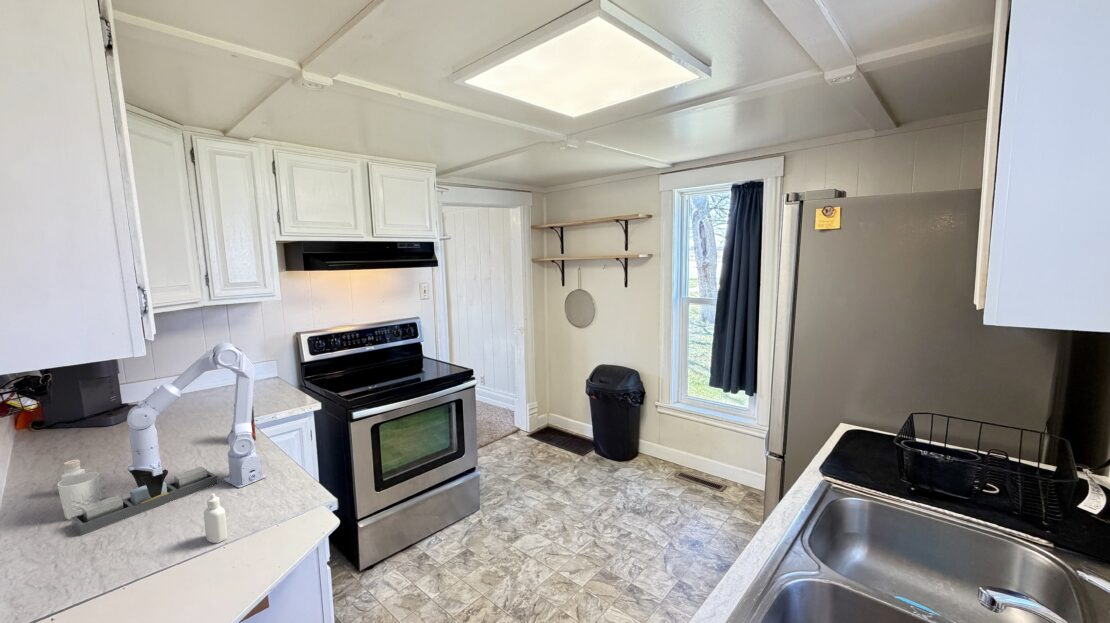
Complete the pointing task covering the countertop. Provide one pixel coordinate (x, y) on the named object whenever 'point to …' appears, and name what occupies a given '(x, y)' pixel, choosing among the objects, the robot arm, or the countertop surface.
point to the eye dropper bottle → (215, 521)
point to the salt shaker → (72, 468)
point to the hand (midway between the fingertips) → (150, 492)
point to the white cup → (79, 492)
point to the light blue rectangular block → (143, 494)
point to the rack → (122, 508)
